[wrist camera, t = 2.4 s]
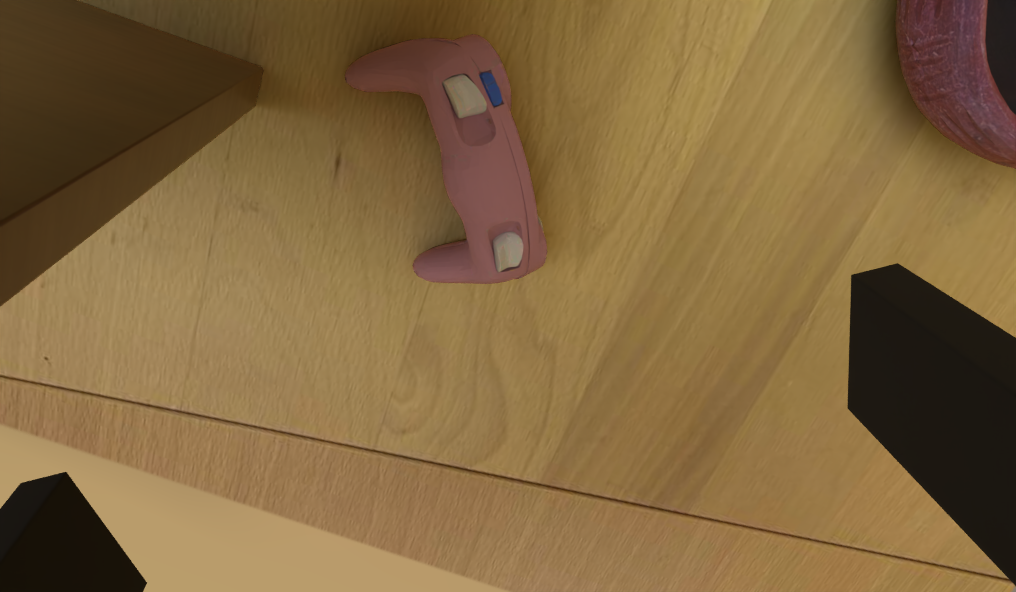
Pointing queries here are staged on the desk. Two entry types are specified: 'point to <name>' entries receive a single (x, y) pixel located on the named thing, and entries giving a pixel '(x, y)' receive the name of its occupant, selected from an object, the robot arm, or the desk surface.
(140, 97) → the shelf stand
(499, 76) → the video game controller
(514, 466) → the desk surface
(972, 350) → the robot arm
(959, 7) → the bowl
